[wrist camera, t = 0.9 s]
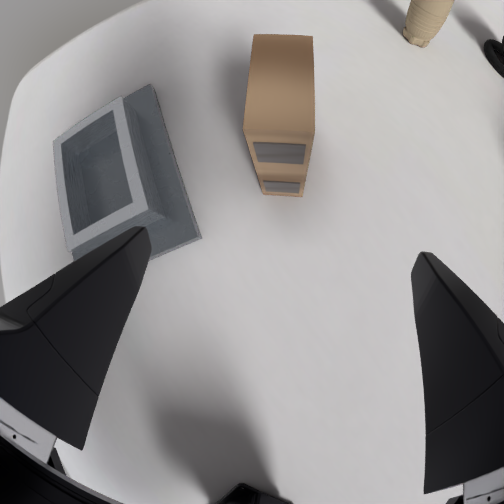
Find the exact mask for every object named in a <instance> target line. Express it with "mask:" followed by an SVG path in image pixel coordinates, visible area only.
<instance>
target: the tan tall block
mask: <svg viewBox="0 0 504 504" xmlns="http://www.w3.org/2000/svg"><path fill="white" fill-rule="evenodd" d="M243 132H244V135H245V138H246V141H247V144H248V147H249V150H250V154H251V157H252V160H253V163H254V166H255V169H256V173H257V176H258V179H259V182H260V186H261V189H262V192H263V195H280V196H295V197H302V196H303V191H304V186H305V181H306V176H307V171H308V166H309V160H310V155H311V150H312V145H313V139H314V134H315V90H314V56H313V36H303V35H279V34H254V36H253V44H252V52H251V60H250V69H249V77H248V86H247V94H246V103H245V112H244V121H243Z"/></svg>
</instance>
